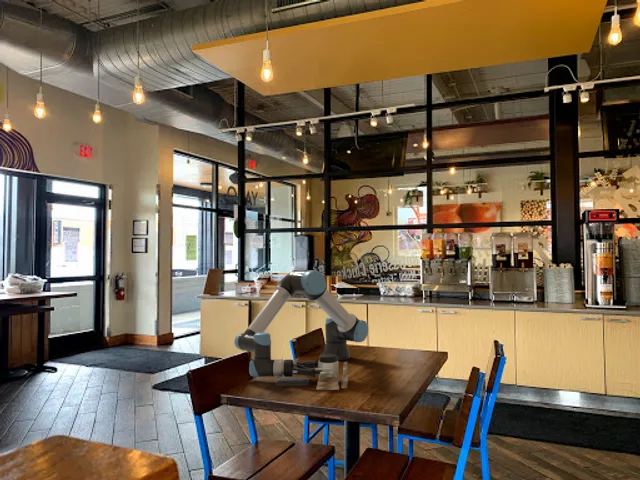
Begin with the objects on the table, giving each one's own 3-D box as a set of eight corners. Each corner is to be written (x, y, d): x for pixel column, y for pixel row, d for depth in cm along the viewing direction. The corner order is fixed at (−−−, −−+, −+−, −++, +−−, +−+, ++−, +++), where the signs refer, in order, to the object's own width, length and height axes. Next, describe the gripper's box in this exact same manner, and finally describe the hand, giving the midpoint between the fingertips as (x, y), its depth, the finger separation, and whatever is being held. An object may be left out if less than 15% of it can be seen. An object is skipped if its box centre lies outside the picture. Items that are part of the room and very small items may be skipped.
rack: (316, 389, 200) (316, 370, 200) (319, 379, 217) (319, 361, 217) (346, 389, 199) (346, 370, 199) (347, 379, 216) (347, 361, 216)
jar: (341, 383, 209) (341, 356, 210) (325, 386, 206) (324, 358, 206) (332, 379, 217) (331, 352, 218) (316, 381, 214) (315, 354, 214)
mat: (275, 385, 208) (275, 384, 208) (279, 379, 219) (279, 377, 219) (307, 385, 206) (307, 384, 206) (310, 379, 218) (310, 377, 218)
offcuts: (317, 386, 200) (317, 373, 200) (318, 385, 203) (317, 371, 203) (337, 386, 199) (337, 373, 200) (338, 385, 202) (337, 371, 203)
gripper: (288, 370, 226) (333, 370, 224) (279, 383, 201) (329, 383, 199) (288, 354, 226) (332, 354, 224) (279, 365, 201) (329, 365, 199)
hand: (331, 368), depth 212 cm, fingers open, 13 cm apart
